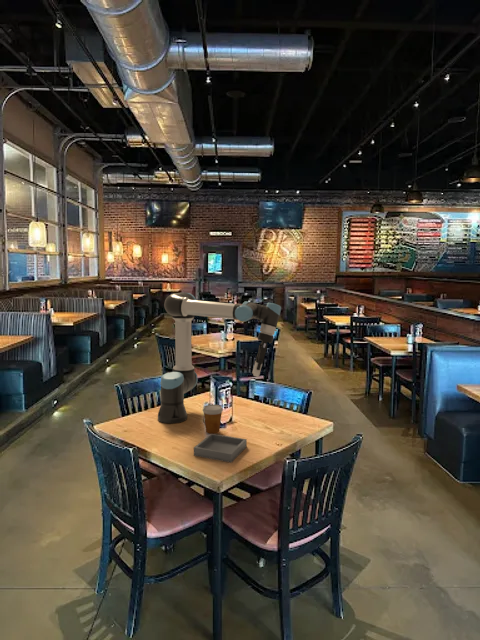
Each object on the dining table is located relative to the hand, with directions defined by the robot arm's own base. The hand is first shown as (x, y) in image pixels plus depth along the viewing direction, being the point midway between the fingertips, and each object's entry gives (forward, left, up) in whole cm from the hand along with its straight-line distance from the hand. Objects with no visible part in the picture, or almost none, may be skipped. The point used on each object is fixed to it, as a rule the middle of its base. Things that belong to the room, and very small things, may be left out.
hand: (255, 375), depth 216 cm
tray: (-2, -36, -25) cm, 44 cm away
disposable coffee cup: (-15, -17, -25) cm, 34 cm away
